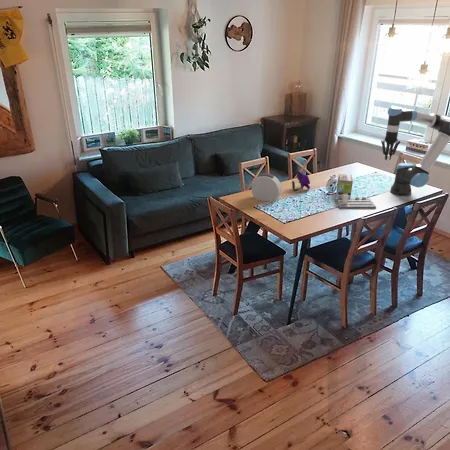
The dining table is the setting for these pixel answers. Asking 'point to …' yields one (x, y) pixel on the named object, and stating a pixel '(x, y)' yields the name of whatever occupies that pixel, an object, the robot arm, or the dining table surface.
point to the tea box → (344, 185)
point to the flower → (301, 181)
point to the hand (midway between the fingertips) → (386, 164)
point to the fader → (345, 198)
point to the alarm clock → (266, 188)
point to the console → (356, 203)
